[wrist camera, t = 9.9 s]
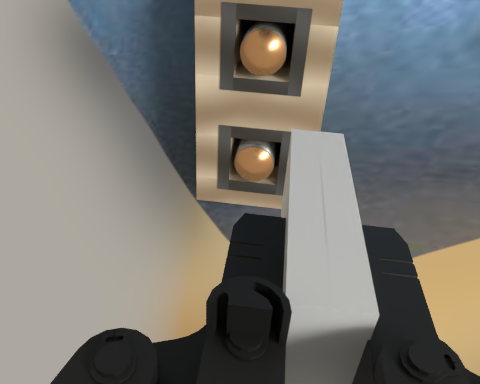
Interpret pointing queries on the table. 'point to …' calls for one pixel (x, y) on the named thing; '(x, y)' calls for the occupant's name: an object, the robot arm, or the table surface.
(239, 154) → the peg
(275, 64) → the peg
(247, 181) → the block
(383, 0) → the table surface
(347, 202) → the robot arm
